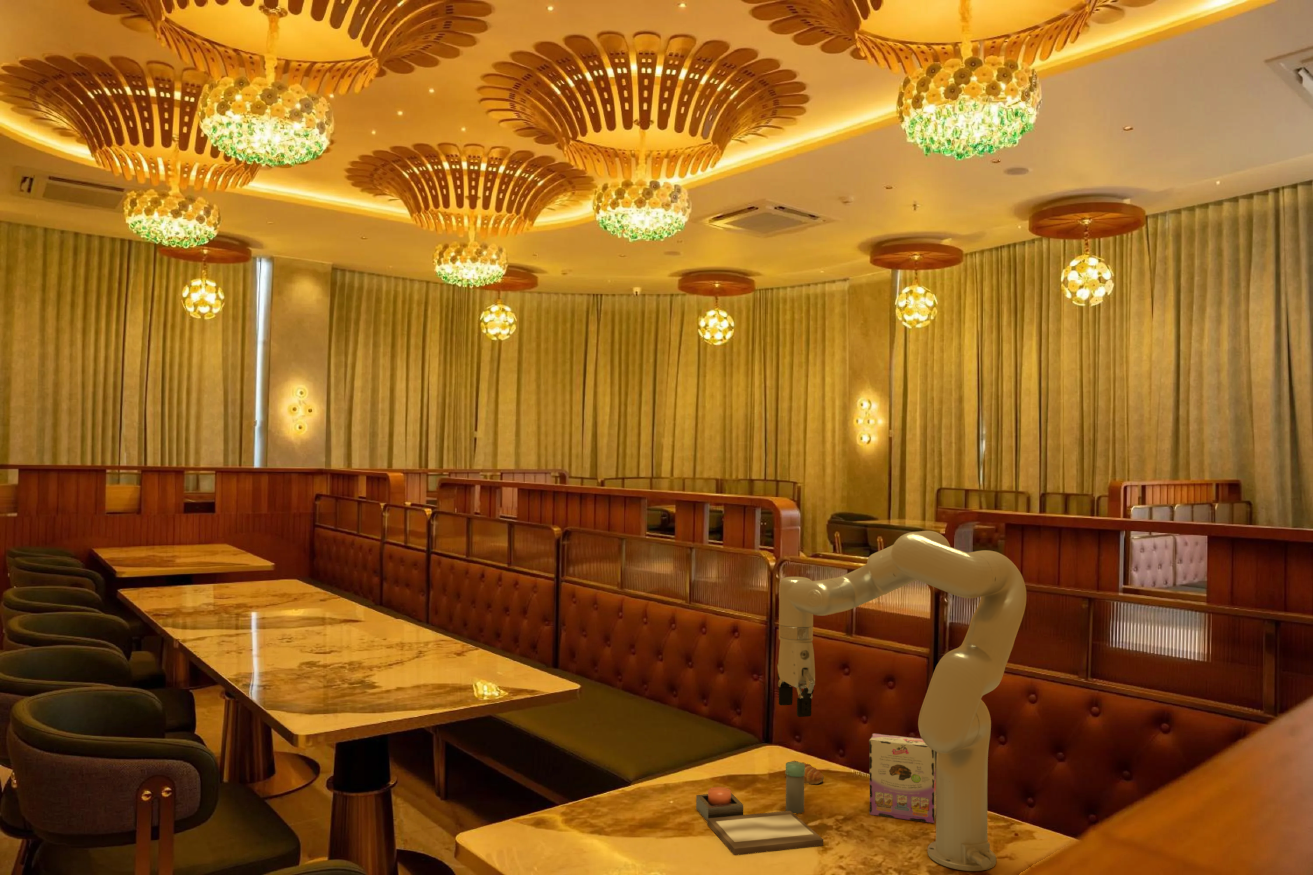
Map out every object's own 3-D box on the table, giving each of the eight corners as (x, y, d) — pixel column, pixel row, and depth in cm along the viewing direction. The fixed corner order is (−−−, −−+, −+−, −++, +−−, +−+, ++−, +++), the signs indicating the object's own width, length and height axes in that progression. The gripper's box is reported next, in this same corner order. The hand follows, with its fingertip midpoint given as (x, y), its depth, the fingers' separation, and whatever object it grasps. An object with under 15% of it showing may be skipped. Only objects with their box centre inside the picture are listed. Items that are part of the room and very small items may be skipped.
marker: (807, 812, 197) (808, 766, 197) (790, 814, 196) (790, 768, 196) (799, 806, 201) (799, 760, 201) (782, 807, 200) (782, 762, 200)
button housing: (743, 818, 193) (743, 804, 193) (708, 822, 191) (708, 807, 191) (730, 805, 201) (730, 791, 201) (696, 808, 198) (696, 794, 199)
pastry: (829, 781, 218) (829, 765, 218) (813, 788, 213) (813, 772, 214) (798, 772, 225) (798, 757, 225) (781, 778, 220) (781, 763, 220)
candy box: (936, 814, 197) (936, 738, 198) (934, 824, 191) (934, 746, 192) (872, 805, 202) (872, 731, 203) (868, 814, 196) (868, 738, 197)
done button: (734, 805, 194) (734, 793, 194) (712, 807, 193) (712, 795, 193) (726, 797, 199) (726, 786, 199) (704, 798, 198) (705, 787, 198)
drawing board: (823, 845, 179) (823, 838, 179) (734, 854, 174) (734, 847, 174) (790, 816, 195) (790, 809, 195) (707, 824, 190) (707, 817, 190)
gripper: (828, 639, 193) (827, 720, 192) (794, 625, 210) (793, 699, 209) (796, 640, 191) (795, 721, 190) (765, 626, 208) (763, 701, 207)
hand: (794, 710), depth 200 cm, fingers open, 9 cm apart
